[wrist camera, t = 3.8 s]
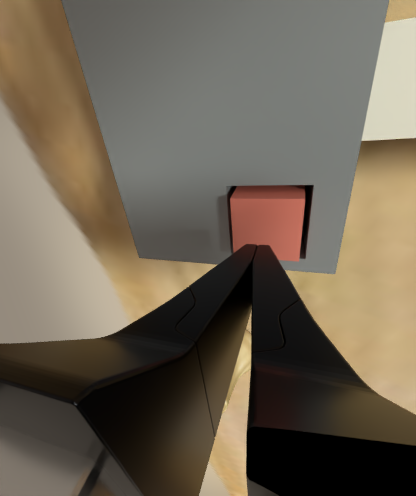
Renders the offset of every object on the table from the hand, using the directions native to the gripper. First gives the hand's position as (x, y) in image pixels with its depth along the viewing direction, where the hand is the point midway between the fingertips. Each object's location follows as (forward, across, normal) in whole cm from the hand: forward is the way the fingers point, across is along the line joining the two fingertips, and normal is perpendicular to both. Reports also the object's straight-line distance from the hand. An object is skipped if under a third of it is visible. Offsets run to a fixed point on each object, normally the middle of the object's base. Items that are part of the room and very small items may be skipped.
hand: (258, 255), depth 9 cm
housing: (+7, +2, -5) cm, 9 cm away
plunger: (+6, 0, 0) cm, 6 cm away
